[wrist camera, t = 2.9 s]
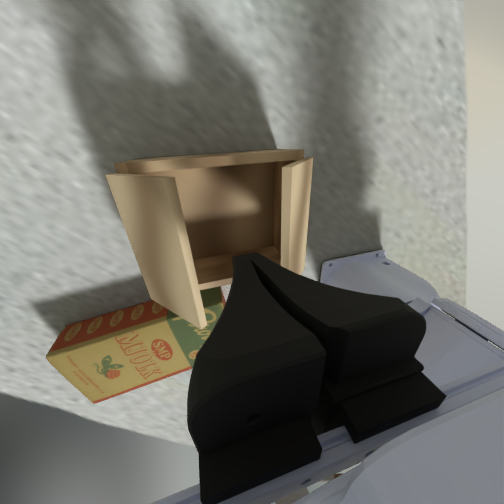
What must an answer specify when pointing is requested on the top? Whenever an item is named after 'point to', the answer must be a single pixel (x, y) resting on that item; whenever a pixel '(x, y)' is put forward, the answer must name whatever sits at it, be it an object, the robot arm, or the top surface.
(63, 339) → the carton
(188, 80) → the top surface
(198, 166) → the cardboard box
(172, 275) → the flap
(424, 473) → the robot arm
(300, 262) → the flap
